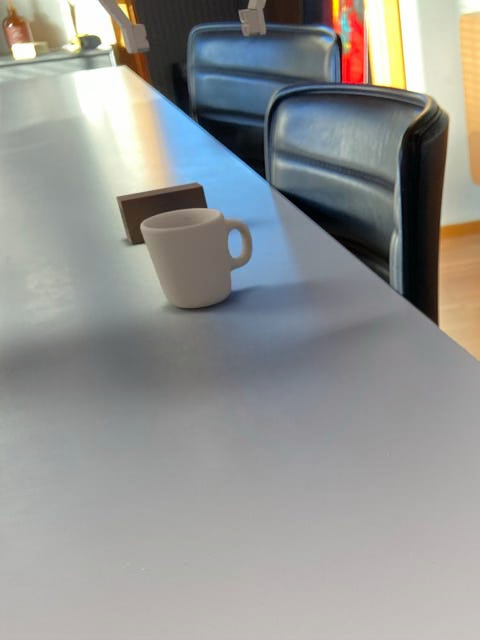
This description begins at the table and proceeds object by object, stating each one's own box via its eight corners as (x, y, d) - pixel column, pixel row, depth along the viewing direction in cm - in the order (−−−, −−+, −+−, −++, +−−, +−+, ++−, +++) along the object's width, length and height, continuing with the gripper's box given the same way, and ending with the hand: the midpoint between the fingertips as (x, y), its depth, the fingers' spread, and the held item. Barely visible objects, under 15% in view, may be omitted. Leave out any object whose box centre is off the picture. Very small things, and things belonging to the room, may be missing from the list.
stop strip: (132, 244, 123) (120, 201, 121) (127, 239, 126) (115, 196, 123) (212, 228, 127) (203, 186, 124) (206, 224, 129) (196, 182, 126)
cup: (240, 277, 109) (223, 197, 104) (279, 291, 103) (263, 208, 99) (147, 304, 103) (125, 221, 99) (183, 320, 98) (161, 234, 93)
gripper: (274, -186, 78) (307, 24, 86) (-4, -168, 71) (61, 59, 79) (303, -195, 73) (334, 27, 81) (9, -177, 66) (76, 65, 74)
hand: (198, 43), depth 80 cm, fingers open, 8 cm apart
